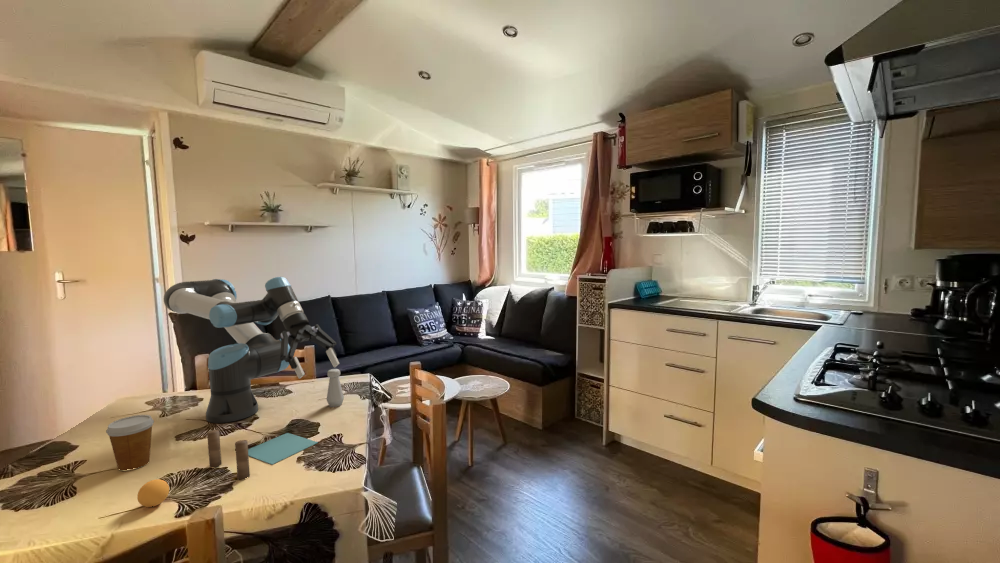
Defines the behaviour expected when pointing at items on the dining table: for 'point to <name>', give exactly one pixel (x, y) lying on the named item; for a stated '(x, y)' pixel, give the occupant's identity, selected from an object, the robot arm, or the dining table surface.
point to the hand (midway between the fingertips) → (320, 370)
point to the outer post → (242, 459)
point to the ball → (153, 493)
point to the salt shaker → (334, 389)
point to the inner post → (214, 448)
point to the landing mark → (280, 448)
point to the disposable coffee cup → (131, 440)
